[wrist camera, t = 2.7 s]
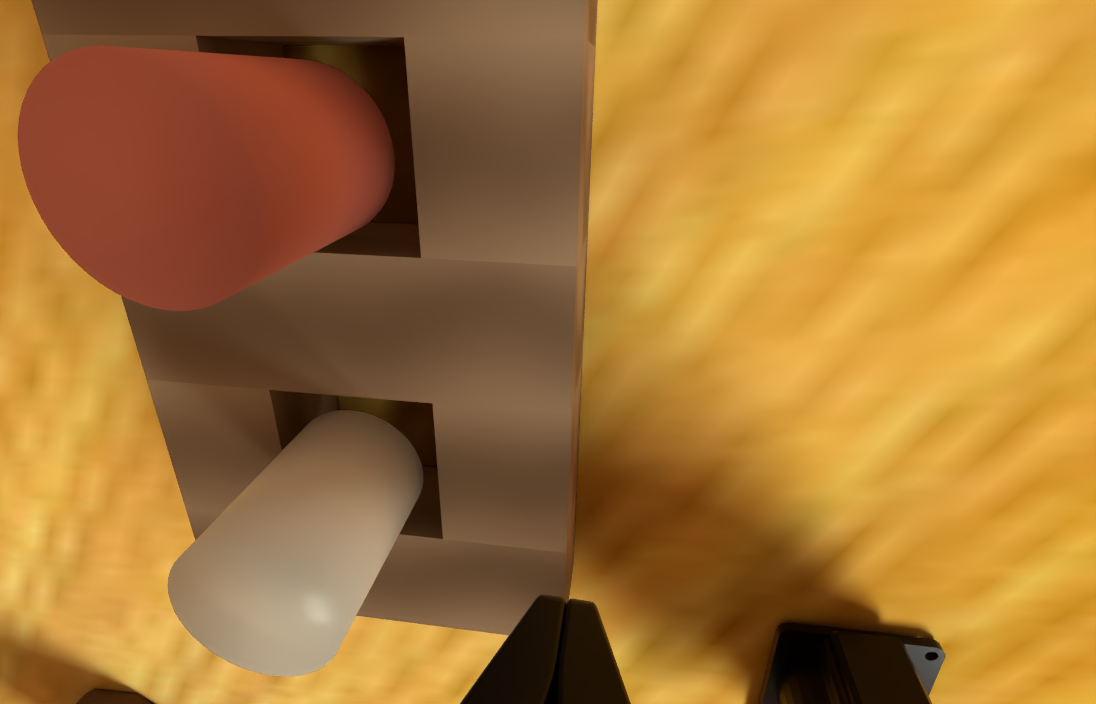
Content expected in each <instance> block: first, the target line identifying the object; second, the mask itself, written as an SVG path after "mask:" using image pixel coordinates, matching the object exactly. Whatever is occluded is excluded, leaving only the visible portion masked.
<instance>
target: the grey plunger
mask: <svg viewBox="0 0 1096 704" xmlns="http://www.w3.org/2000/svg"><path fill="white" fill-rule="evenodd" d="M422 487H423V469H422V464H421V461H420V458H419V456H418V454H417V452H416V450H415V449H414V447H413V446H412V444H411V443H410V442H409V440H408V439H407V438H406V437H405V436H404V435H403V434H402V433H401V432H400V431H399V430H397V429H396V428H395V427H394V426H392V425H391V424H389V423H388V422H386V421H384V420H382V419H380V418H378V417H376V416H373V415H371V414H368V413H364V412H360V411H353V410H338V411H332V412H328V413H325V414H322V415H320V416H318V417H317V418H315V419H313V420H312V421H311V422H310V423H308V424H307V426H306V427H305V428H304V429H303V430H302V431H301V432H300V433H299V434H298V435H297V436H296V437H295V438H294V439H293V440H292V441H291V442H290V443H289V444H288V445H287V446H286V447H285V448H284V449H283V450H282V451H281V452H280V453H279V455H278V456H277V457H276V458H275V459H274V460H273V461H272V462H271V463H270V464H269V465H268V466H267V467H266V468H265V469H264V470H263V471H262V472H261V473H260V474H259V475H258V476H257V477H256V478H255V479H254V480H253V481H252V482H251V484H250V485H249V486H248V487H247V488H246V489H245V490H244V491H243V492H242V493H241V494H240V495H239V496H238V497H237V498H236V499H235V500H234V501H233V502H232V503H231V504H230V505H229V506H228V507H227V508H226V509H225V510H224V511H223V512H222V514H221V515H220V516H219V517H218V518H217V519H216V520H215V521H214V522H213V523H212V524H211V525H210V526H209V527H208V528H207V529H206V530H205V531H204V532H203V533H202V534H201V535H200V536H199V537H198V538H197V539H196V540H195V541H194V543H193V544H192V545H191V546H190V547H189V548H188V549H187V550H186V551H185V552H184V553H183V554H182V555H181V556H180V557H179V558H178V559H177V561H176V562H175V563H174V565H173V567H172V568H171V570H170V574H169V577H168V593H169V597H170V601H171V604H172V606H173V609H174V611H175V613H176V615H177V616H178V618H179V620H180V621H181V622H182V624H183V625H184V627H185V628H186V629H187V630H188V631H189V632H190V633H191V635H192V636H193V637H194V638H195V639H197V640H198V641H199V642H200V643H201V644H202V645H203V646H205V647H206V648H207V649H209V650H210V651H211V652H213V653H214V654H216V655H217V656H219V657H221V658H223V659H224V660H226V661H228V662H230V663H232V664H234V665H237V666H239V667H241V668H244V669H247V670H250V671H253V672H257V673H261V674H266V675H271V676H300V675H304V674H309V673H312V672H314V671H317V670H319V669H320V668H322V667H324V666H325V665H326V664H328V663H329V662H330V661H331V660H332V659H333V657H334V656H335V655H336V653H337V651H338V649H339V647H340V645H341V643H342V641H343V639H344V638H345V636H346V634H347V632H348V630H349V628H350V626H351V624H352V622H353V621H354V619H355V617H356V615H357V613H358V611H359V609H360V607H361V605H362V604H363V602H364V600H365V598H366V596H367V594H368V592H369V590H370V588H371V586H372V585H373V583H374V581H375V579H376V577H377V575H378V573H379V571H380V569H381V568H382V566H383V564H384V562H385V560H386V558H387V556H388V554H389V552H390V551H391V549H392V547H393V545H394V543H395V541H396V539H397V537H398V535H399V534H400V532H401V530H402V528H403V526H404V524H405V522H406V520H407V518H408V516H409V515H410V513H411V511H412V509H413V507H414V505H415V503H416V501H417V499H418V498H419V496H420V494H421V491H422Z"/></svg>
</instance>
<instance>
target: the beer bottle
mask: <svg viewBox="0 0 1096 704" xmlns="http://www.w3.org/2000/svg"><path fill="white" fill-rule="evenodd" d="M76 704H153V703H152V702H150V701H148V700H147V699H145V698H144V697H142V696H140V695H139V694H137V693H131V692H121V691H111V690H101V689H94V690H92V691H90V692H88V693H86V694H85V695H84V696H83V697H82V698H81V699H80V700H79V701H78V702H77V703H76Z"/></svg>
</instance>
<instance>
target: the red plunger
mask: <svg viewBox="0 0 1096 704" xmlns="http://www.w3.org/2000/svg"><path fill="white" fill-rule="evenodd" d="M18 145H19V155H20V161H21V166H22V171H23V174H24V178H25V181H26V185H27V187H28V190H29V192H30V195H31V197H32V200H33V202H34V204H35V206H36V208H37V210H38V212H39V214H40V216H41V218H42V219H43V221H44V223H45V224H46V226H47V227H48V229H49V231H50V232H51V234H52V235H53V236H54V238H55V239H56V240H57V242H58V243H59V244H60V245H61V247H62V248H63V249H64V250H65V251H66V252H67V254H68V255H69V256H70V257H71V258H72V259H73V260H74V261H75V262H76V263H77V264H78V265H79V266H80V267H81V268H82V269H84V270H85V271H86V272H87V273H88V274H89V275H91V276H92V277H93V278H94V279H96V280H97V281H98V282H100V283H101V284H103V285H104V286H106V287H107V288H109V289H110V290H112V291H114V292H115V293H117V294H119V295H121V296H123V297H125V298H127V299H129V300H132V301H134V302H137V303H140V304H142V305H145V306H149V307H153V308H157V309H162V310H170V311H190V310H197V309H202V308H205V307H208V306H212V305H214V304H216V303H218V302H220V301H222V300H224V299H226V298H228V297H230V296H232V295H234V294H236V293H237V292H239V291H241V290H243V289H245V288H247V287H249V286H251V285H253V284H255V283H256V282H258V281H260V280H262V279H264V278H266V277H268V276H270V275H272V274H274V273H276V272H277V271H279V270H281V269H283V268H285V267H287V266H289V265H291V264H293V263H295V262H297V261H298V260H300V259H302V258H304V257H306V256H308V255H310V254H312V253H314V252H316V251H318V250H319V249H321V248H323V247H325V246H327V245H329V244H331V243H333V242H335V241H337V240H338V239H340V238H342V237H344V236H346V235H348V234H350V233H352V232H354V231H356V230H358V229H359V228H361V227H363V226H364V225H366V224H367V223H369V222H370V221H371V220H372V219H373V218H374V217H375V216H376V215H377V214H378V213H379V212H380V210H381V209H382V208H383V206H384V204H385V202H386V201H387V199H388V196H389V194H390V191H391V188H392V184H393V179H394V171H395V155H394V148H393V142H392V139H391V135H390V131H389V129H388V126H387V124H386V121H385V119H384V117H383V115H382V113H381V111H380V110H379V108H378V106H377V105H376V103H375V102H374V101H373V99H372V98H371V97H370V95H369V94H368V93H367V92H366V91H365V90H364V89H363V88H362V87H361V86H360V85H359V84H358V83H357V82H356V81H355V80H354V79H352V78H351V77H349V76H348V75H347V74H345V73H344V72H342V71H340V70H338V69H336V68H335V67H332V66H330V65H327V64H325V63H322V62H318V61H313V60H305V59H291V58H277V57H262V56H248V55H234V54H219V53H205V52H190V51H176V50H161V49H147V48H132V47H118V46H103V45H101V46H87V47H82V48H78V49H75V50H71V51H69V52H66V53H64V54H62V55H60V56H58V57H56V58H55V59H54V60H52V61H51V62H50V63H48V64H47V65H46V66H45V67H44V68H43V69H42V70H41V71H40V72H39V73H38V74H37V76H36V77H35V78H34V80H33V82H32V83H31V85H30V87H29V88H28V90H27V93H26V95H25V98H24V100H23V103H22V107H21V112H20V117H19V126H18Z"/></svg>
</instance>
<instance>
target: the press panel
mask: <svg viewBox="0 0 1096 704" xmlns="http://www.w3.org/2000/svg"><path fill="white" fill-rule="evenodd" d="M32 3H33V7H34V10H35V13H36V16H37V20H38V23H39V26H40V30H41V33H42V36H43V40H44V43H45V46H46V49H47V53H48V56H49V59H50V62H51V61H52V60H54V59H55V58H56V57H58V56H60V55H62V54H64V53H66V52H69V51H71V50H75V49H78V48H82V47H87V46H101V45H103V46H118V47H132V48H147V49H161V50H176V51H190V52H205V53H219V54H234V55H248V56H262V57H277V58H285V57H284V51H283V45H366V46H405V56H406V69H407V82H408V95H409V108H410V121H411V134H412V146H413V159H414V172H415V185H416V198H417V211H418V224H399V223H377V222H369V223H367V224H366V225H364V226H363V227H361V228H359V229H358V230H356V231H354V232H352V233H350V234H348V235H346V236H344V237H342V238H340V239H338V240H337V241H335V242H333V243H331V244H329V245H327V246H325V247H323V248H321V249H319V250H318V251H316V252H314V253H312V254H310V255H308V256H306V257H304V258H302V259H300V260H298V261H297V262H295V263H293V264H291V265H289V266H287V267H285V268H283V269H281V270H279V271H277V272H276V273H274V274H272V275H270V276H268V277H266V278H264V279H262V280H260V281H258V282H256V283H255V284H253V285H251V286H249V287H247V288H245V289H243V290H241V291H239V292H237V293H236V294H234V295H232V296H230V297H228V298H226V299H224V300H222V301H220V302H218V303H216V304H214V305H212V306H208V307H205V308H202V309H197V310H190V311H170V310H162V309H157V308H153V307H149V306H145V305H142V304H140V303H137V302H134V301H132V300H129V299H127V298H125V297H123V296H122V300H123V303H124V306H125V310H126V313H127V316H128V320H129V323H130V326H131V329H132V333H133V336H134V339H135V343H136V346H137V349H138V352H139V356H140V359H141V362H142V366H143V369H144V372H145V376H146V379H147V382H148V385H149V389H150V392H151V395H152V399H153V402H154V405H155V408H156V412H157V415H158V418H159V422H160V425H161V428H162V432H163V435H164V438H165V441H166V445H167V448H168V451H169V455H170V458H171V461H172V465H173V468H174V471H175V474H176V478H177V481H178V484H179V488H180V491H181V494H182V497H183V501H184V504H185V507H186V511H187V514H188V517H189V521H190V524H191V527H192V530H193V534H194V537H195V540H196V539H197V538H198V537H199V536H200V535H201V534H202V533H203V532H204V531H205V530H206V529H207V528H208V527H209V526H210V525H211V524H212V523H213V522H214V521H215V520H216V519H217V518H218V517H219V516H220V515H221V514H222V512H223V511H224V510H225V509H226V508H227V507H228V506H229V505H230V504H231V503H232V502H233V501H234V500H235V499H236V498H237V497H238V496H239V495H240V494H241V493H242V492H243V491H244V490H245V489H246V488H247V487H248V486H249V485H250V484H251V482H252V481H253V480H254V479H255V478H256V477H257V476H258V475H259V474H260V473H261V472H262V471H263V470H264V469H265V468H266V467H267V466H268V465H269V464H270V463H271V462H272V461H273V460H274V459H275V458H276V457H277V456H278V455H279V453H280V452H281V451H282V450H283V449H284V448H285V447H286V446H287V445H288V444H289V443H290V442H291V441H292V440H293V439H294V438H295V437H296V436H297V435H298V434H299V433H300V432H301V431H302V430H303V429H304V428H305V427H306V426H307V424H308V423H310V422H311V421H312V420H313V419H315V418H317V417H318V416H320V415H322V414H325V413H328V412H332V411H338V410H339V407H338V400H337V396H350V397H362V398H374V399H386V400H398V401H410V402H422V403H432V404H433V417H434V429H435V442H436V455H437V467H428V466H422V469H423V487H422V491H421V494H420V496H419V498H418V499H417V501H416V503H415V505H414V507H413V509H412V511H411V513H410V515H409V516H408V518H407V520H406V522H405V524H404V526H403V528H402V530H401V532H400V534H399V535H398V537H397V539H396V541H395V543H394V545H393V547H392V549H391V551H390V552H389V554H388V556H387V558H386V560H385V562H384V564H383V566H382V568H381V569H380V571H379V573H378V575H377V577H376V579H375V581H374V583H373V585H372V586H371V588H370V590H369V592H368V594H367V596H366V598H365V600H364V602H363V604H362V605H361V607H360V609H359V611H358V613H357V615H356V616H364V617H372V618H379V619H387V620H395V621H403V622H410V623H418V624H426V625H434V626H441V627H449V628H457V629H465V630H472V631H480V632H488V633H496V634H503V635H510V634H511V632H512V631H513V630H514V628H515V627H516V625H517V624H518V623H519V621H520V620H521V618H522V617H523V616H524V614H525V613H526V612H527V610H528V609H529V607H530V606H531V605H532V603H533V602H534V600H535V599H536V598H537V597H538V596H539V595H541V594H544V595H551V596H558V597H563V598H564V599H565V600H566V605H567V601H568V600H569V594H570V587H571V579H572V572H573V564H574V545H575V521H576V497H577V474H578V450H579V426H580V403H581V379H582V355H583V332H584V308H585V284H586V261H587V237H588V213H589V189H590V166H591V142H592V118H593V95H594V71H595V47H596V24H597V0H32Z"/></svg>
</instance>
